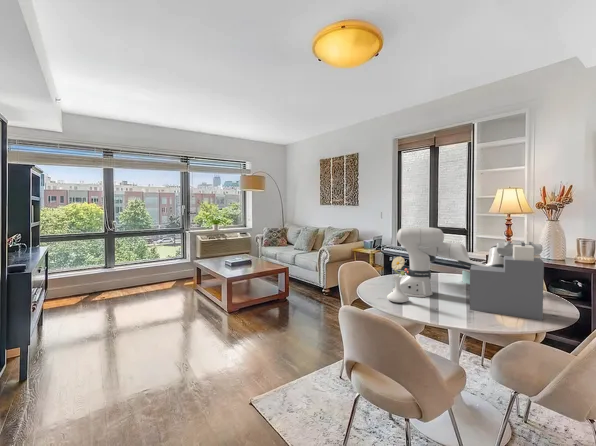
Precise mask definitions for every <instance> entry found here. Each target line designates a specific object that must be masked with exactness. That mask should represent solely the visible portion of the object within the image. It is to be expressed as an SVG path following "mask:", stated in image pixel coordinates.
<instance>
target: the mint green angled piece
mask: <svg viewBox="0 0 596 446" xmlns="http://www.w3.org/2000/svg"><path fill="white" fill-rule="evenodd" d="M461 274H462V275H461V276H462V278H461V279H462V281H463V283H465V284H468V285H470V271H467V270H462V273H461Z"/></svg>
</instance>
